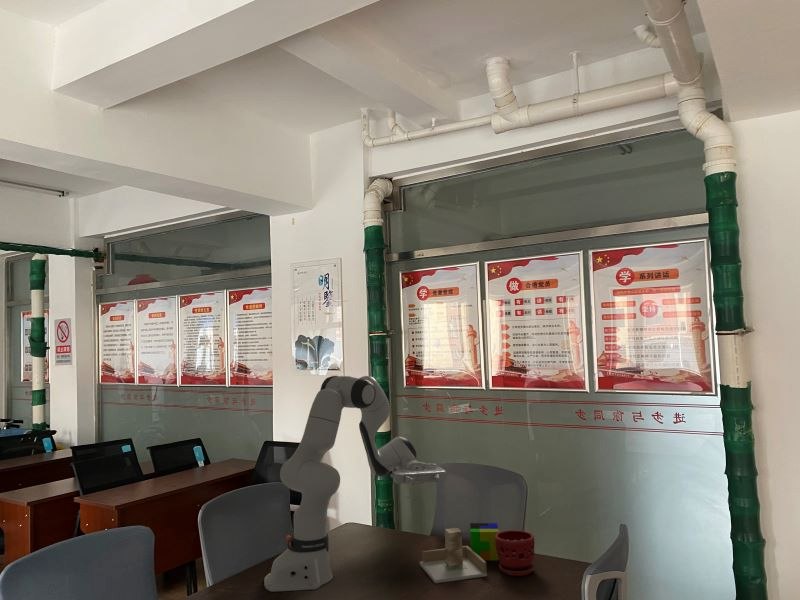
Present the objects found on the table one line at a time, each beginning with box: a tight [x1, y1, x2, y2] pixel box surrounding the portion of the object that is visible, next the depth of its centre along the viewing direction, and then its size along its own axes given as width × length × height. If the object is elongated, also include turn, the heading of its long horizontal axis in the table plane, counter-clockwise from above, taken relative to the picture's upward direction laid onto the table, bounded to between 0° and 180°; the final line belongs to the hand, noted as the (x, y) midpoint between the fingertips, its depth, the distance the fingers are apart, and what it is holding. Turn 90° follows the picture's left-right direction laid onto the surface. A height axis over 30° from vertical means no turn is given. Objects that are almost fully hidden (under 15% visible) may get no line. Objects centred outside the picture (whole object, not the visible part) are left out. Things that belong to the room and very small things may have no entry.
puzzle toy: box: [469, 522, 500, 561], centre depth 223 cm, size 10×10×10 cm
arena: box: [419, 545, 488, 584], centre depth 209 cm, size 18×17×4 cm
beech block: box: [444, 527, 463, 569], centre depth 210 cm, size 4×4×12 cm
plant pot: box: [495, 529, 535, 577], centre depth 207 cm, size 13×13×12 cm
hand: (425, 480), depth 224 cm, fingers open, 8 cm apart
